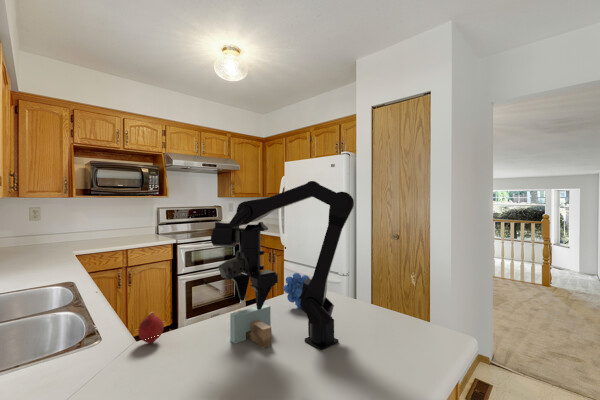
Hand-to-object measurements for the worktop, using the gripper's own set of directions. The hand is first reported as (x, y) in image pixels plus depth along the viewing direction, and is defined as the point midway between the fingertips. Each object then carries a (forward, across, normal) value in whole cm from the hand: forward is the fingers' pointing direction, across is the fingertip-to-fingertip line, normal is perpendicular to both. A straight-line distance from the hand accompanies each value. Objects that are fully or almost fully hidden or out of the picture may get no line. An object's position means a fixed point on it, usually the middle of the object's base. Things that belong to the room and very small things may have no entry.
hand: (250, 304), depth 79 cm
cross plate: (+8, 0, 0) cm, 8 cm away
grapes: (+8, -7, +23) cm, 26 cm away
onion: (+9, -13, -22) cm, 27 cm away
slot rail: (+8, 0, 0) cm, 8 cm away
